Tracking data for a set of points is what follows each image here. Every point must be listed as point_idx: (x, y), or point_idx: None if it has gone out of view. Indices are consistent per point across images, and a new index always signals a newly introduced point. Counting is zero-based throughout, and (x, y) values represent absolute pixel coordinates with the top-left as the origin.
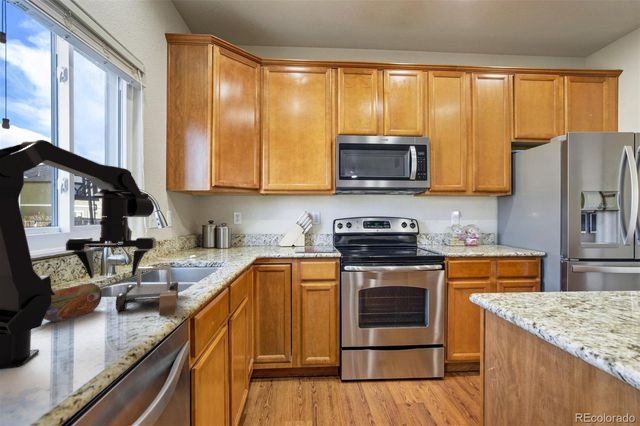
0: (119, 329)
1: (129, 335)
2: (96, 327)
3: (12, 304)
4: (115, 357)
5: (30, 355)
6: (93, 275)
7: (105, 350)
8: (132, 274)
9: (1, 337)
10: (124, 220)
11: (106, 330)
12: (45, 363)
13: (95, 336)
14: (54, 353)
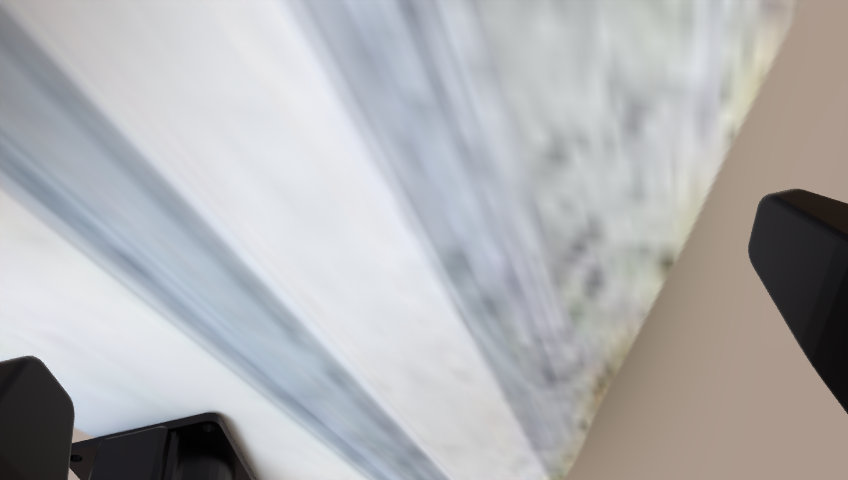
0: (465, 154)
1: (557, 250)
2: (270, 98)
3: None
4: (559, 429)
5: (234, 460)
6: (26, 394)
7: (500, 388)
8: (771, 290)
9: None
10: None
11: (384, 166)
12: (330, 468)
13: (368, 256)
14: (297, 412)
